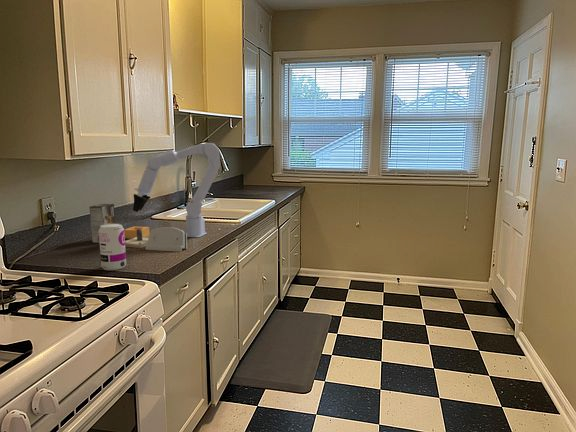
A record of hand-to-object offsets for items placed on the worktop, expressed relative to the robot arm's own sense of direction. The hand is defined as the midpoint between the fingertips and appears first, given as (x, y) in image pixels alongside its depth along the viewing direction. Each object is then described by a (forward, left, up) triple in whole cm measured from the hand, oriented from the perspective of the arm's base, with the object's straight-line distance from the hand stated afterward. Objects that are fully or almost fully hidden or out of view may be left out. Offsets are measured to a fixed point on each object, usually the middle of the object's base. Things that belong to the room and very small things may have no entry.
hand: (137, 210), depth 197 cm
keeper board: (+8, +6, -13) cm, 16 cm away
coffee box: (+6, -13, -13) cm, 20 cm away
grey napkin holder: (+13, +22, -14) cm, 29 cm away
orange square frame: (-4, -3, -13) cm, 14 cm away
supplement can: (+43, +18, -13) cm, 48 cm away
